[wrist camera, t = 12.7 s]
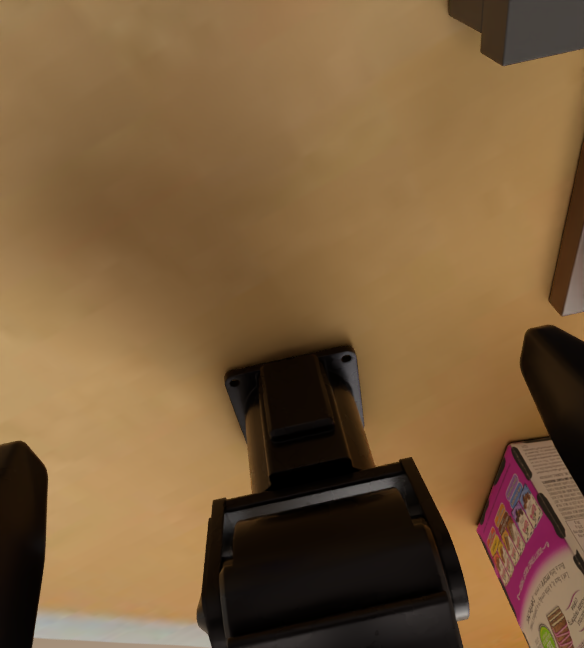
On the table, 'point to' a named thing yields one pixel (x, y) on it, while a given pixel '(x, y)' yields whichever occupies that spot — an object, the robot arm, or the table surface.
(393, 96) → the table surface
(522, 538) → the candy bar box
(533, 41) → the tv stand
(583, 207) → the hat stand
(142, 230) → the table surface
